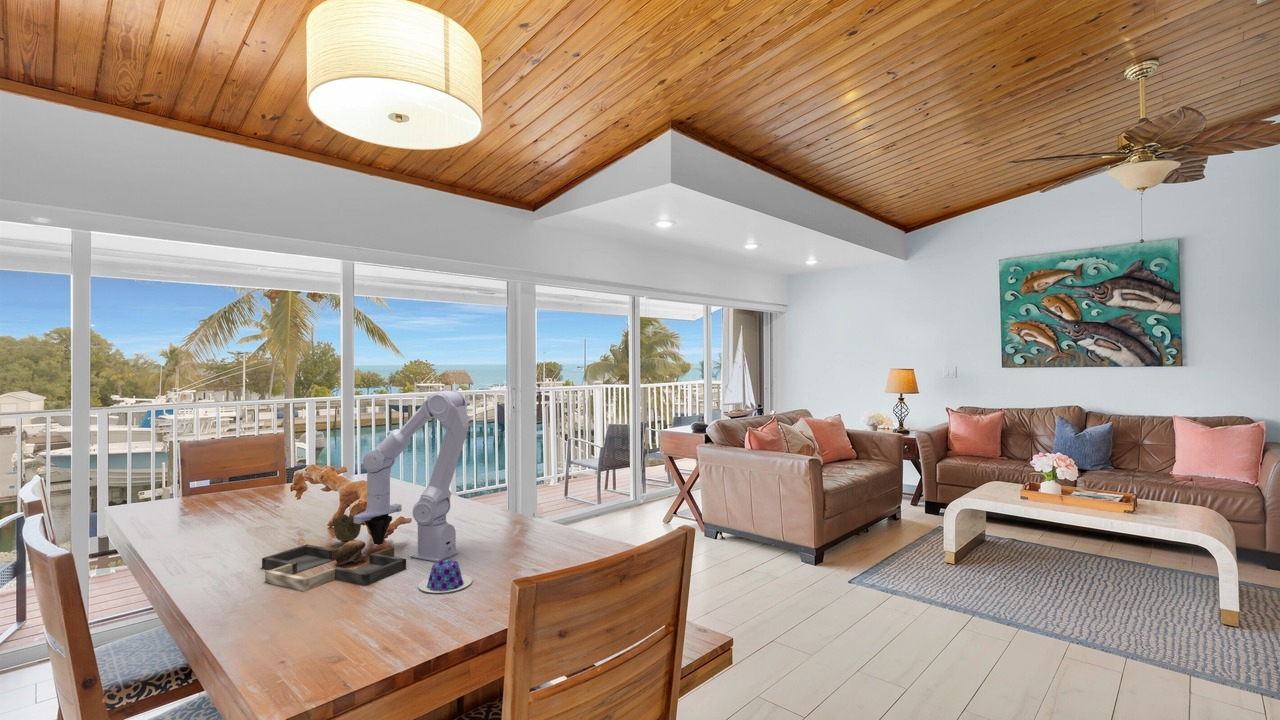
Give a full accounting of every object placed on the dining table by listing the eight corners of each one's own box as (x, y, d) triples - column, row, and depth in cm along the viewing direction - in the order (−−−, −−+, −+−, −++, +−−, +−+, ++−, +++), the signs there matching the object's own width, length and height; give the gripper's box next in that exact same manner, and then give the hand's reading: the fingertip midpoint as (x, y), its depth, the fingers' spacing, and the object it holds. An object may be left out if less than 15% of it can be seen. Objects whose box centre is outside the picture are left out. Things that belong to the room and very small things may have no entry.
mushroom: (379, 547, 159) (363, 529, 158) (357, 568, 152) (341, 549, 151) (362, 557, 163) (347, 539, 162) (340, 578, 156) (324, 559, 155)
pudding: (417, 580, 145) (417, 558, 145) (469, 573, 150) (469, 552, 150) (419, 599, 134) (418, 575, 134) (475, 591, 139) (475, 568, 139)
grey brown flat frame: (423, 561, 158) (423, 552, 158) (335, 598, 134) (335, 586, 134) (332, 545, 171) (332, 536, 171) (237, 576, 147) (237, 565, 147)
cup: (350, 550, 167) (350, 521, 167) (326, 548, 169) (326, 519, 169) (367, 542, 175) (367, 514, 174) (344, 540, 176) (344, 512, 176)
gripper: (388, 487, 174) (388, 534, 174) (345, 497, 160) (345, 549, 160) (407, 489, 171) (407, 537, 171) (364, 500, 157) (364, 553, 158)
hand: (378, 543), depth 165 cm, fingers closed
